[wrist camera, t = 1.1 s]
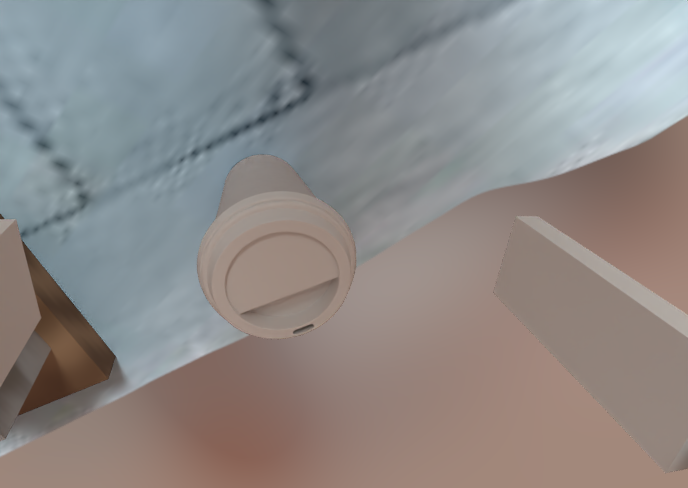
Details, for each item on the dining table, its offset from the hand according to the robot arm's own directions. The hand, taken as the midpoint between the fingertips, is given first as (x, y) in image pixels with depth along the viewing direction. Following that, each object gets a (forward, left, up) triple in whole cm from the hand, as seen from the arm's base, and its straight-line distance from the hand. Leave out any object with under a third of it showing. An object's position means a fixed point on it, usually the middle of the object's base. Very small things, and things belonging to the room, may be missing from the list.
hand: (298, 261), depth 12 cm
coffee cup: (+7, -2, -26) cm, 27 cm away
